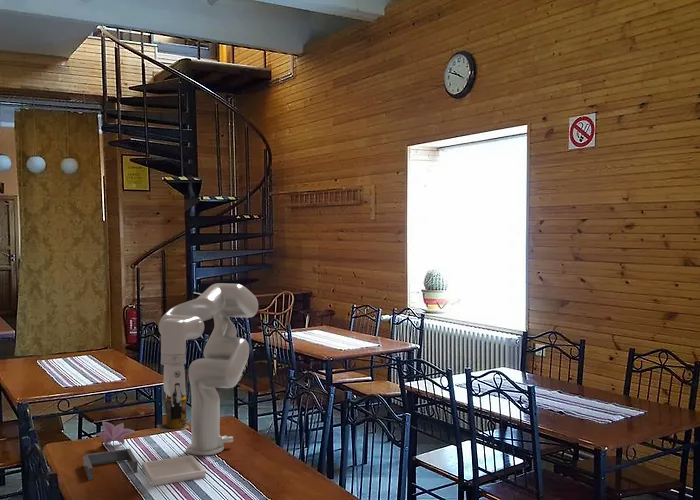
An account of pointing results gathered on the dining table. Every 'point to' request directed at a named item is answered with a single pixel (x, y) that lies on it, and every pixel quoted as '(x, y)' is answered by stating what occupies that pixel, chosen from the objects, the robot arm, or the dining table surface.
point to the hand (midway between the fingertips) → (173, 415)
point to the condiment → (175, 423)
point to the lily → (114, 433)
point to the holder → (109, 460)
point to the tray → (173, 470)
